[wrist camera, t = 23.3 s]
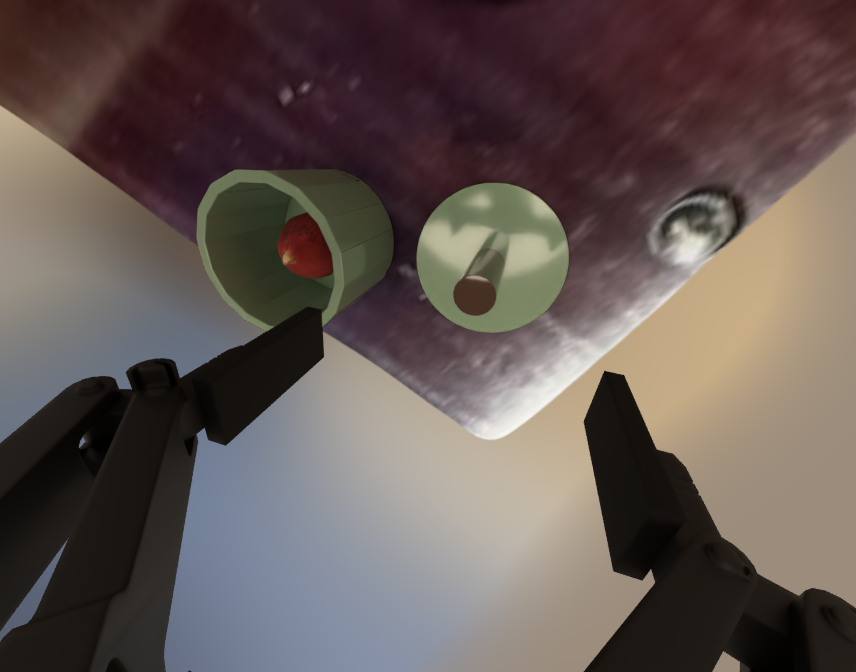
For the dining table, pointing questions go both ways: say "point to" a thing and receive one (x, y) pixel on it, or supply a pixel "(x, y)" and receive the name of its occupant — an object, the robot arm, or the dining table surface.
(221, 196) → the pot
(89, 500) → the robot arm
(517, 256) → the lid
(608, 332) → the dining table surface
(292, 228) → the onion
